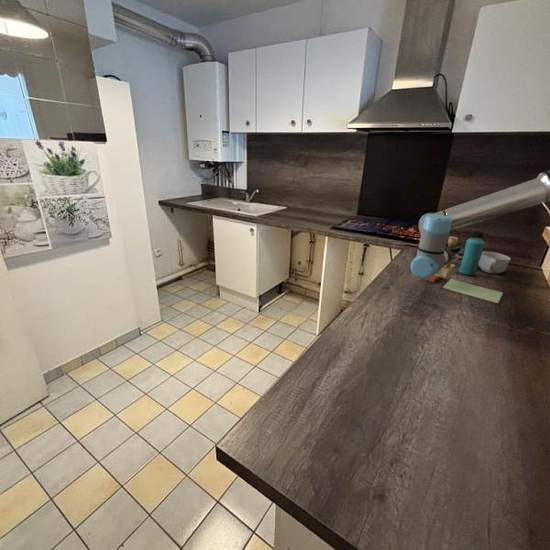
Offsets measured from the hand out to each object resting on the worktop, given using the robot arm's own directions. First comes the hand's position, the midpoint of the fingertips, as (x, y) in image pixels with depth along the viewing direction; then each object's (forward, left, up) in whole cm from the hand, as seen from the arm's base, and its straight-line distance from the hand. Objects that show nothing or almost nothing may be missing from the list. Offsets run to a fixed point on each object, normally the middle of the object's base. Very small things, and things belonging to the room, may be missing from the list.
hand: (454, 244), depth 117 cm
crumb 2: (+3, +3, -16) cm, 16 cm away
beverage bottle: (-5, -13, -16) cm, 21 cm away
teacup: (-12, -26, -16) cm, 32 cm away
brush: (0, +5, -11) cm, 12 cm away
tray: (-11, +5, -16) cm, 20 cm away
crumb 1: (+2, +7, -15) cm, 16 cm away
